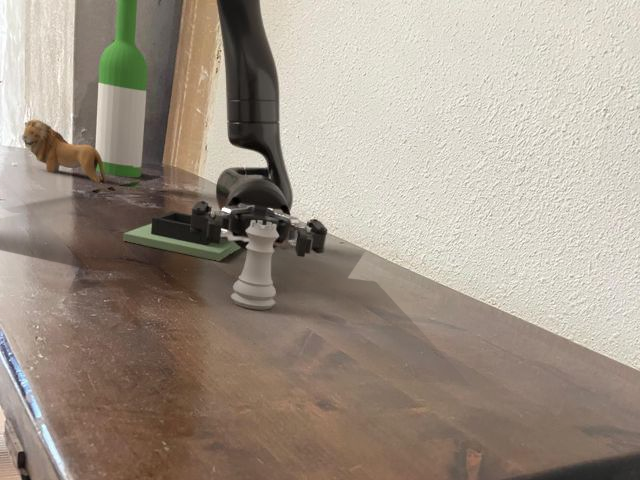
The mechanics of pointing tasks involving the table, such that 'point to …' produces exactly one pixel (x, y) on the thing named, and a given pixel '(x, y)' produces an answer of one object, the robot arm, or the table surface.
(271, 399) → the table surface
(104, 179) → the lion figurine
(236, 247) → the socket pad
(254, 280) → the rook chess piece
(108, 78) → the wine bottle
